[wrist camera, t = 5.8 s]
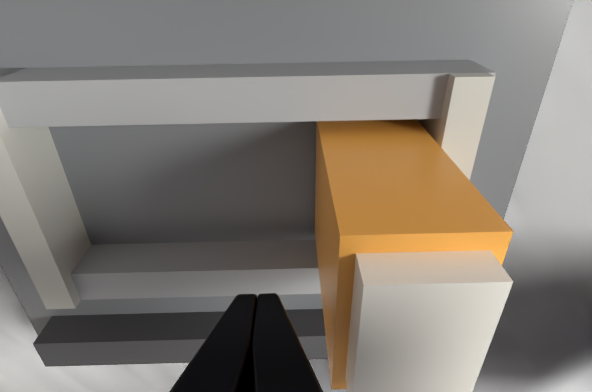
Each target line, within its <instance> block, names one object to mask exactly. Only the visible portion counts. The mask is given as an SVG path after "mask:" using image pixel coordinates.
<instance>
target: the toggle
mask: <svg viewBox="0 0 592 392" xmlns="http://www.w3.org/2000/svg"><path fill="white" fill-rule="evenodd" d="M513 232H514V231H513V230H512V229H511V228H510V227H509V226H508V224H507V223H506V222H505V221H504V220H503V219H502V218H501V216H500V215H499V214H498V213H497V212H496V211H495V209H494V208H493V207H492V206H491V205H490V204H489V202H488V201H487V200H486V199H485V198H484V197H483V196H482V194H481V193H480V192H479V191H478V190H477V189H476V187H475V186H474V185H473V184H472V183H471V182H470V180H469V179H468V178H467V177H466V176H465V175H464V174H463V172H462V171H461V170H460V169H459V168H458V167H457V165H456V164H455V163H454V162H453V161H452V160H451V158H450V157H449V156H448V155H447V154H446V153H445V152H444V150H443V149H442V148H441V147H440V146H439V145H438V143H437V142H436V141H435V140H434V139H433V138H432V136H431V135H430V134H429V133H428V132H427V131H426V130H425V128H424V127H423V126H422V125H421V124H420V123H419V121H418V120H417V119H403V120H354V121H316V181H315V241H316V250H317V260H318V269H319V278H320V288H321V297H322V306H323V316H324V325H325V334H326V344H327V353H328V362H329V372H330V381H331V389H347V392H472V391H473V389H474V386H475V383H476V381H477V378H478V375H479V373H480V370H481V367H482V365H483V362H484V359H485V357H486V354H487V351H488V349H489V346H490V343H491V341H492V338H493V335H494V333H495V330H496V327H497V325H498V322H499V319H500V316H501V314H502V311H503V308H504V306H505V303H506V300H507V298H508V295H509V292H510V290H511V287H512V284H513V280H512V279H511V278H510V276H509V275H508V274H507V272H506V271H505V269H504V268H503V267H502V264H503V261H504V258H505V255H506V252H507V249H508V246H509V243H510V240H511V237H512V234H513Z"/></svg>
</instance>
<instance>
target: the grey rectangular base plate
mask: <svg viewBox="0 0 592 392" xmlns="http://www.w3.org/2000/svg"><path fill="white" fill-rule="evenodd" d="M285 311H286V313H287V315H288V317H289V319H290V322H291V324H292V326H293V328H294V330H295V332H296V335H297V337H298V339H299V341H300V343H301V345H302V347H303V350H304V352H305V354H306V356H307V358H308V359H328V353H327V344H326V334H325V325H324V316H323V309H294V310H285ZM224 313H225V311H217V312H179V313H141V314H103V315H65V316H52V317H51V318H50V319H49V321H48V322H47V324H46V325H45V327H44V328H43V330H42V331H41V333H40V334H39V336H38V337H37V339H36V340H35V342H34V343H33V345H34V347H35V348H36V350H37V352H38V354H39V356H40V357H41V359H42V361H43V363H44V365H45V366H81V365H117V364H153V363H189V362H191V360H192V359H193V357H194V356H195V354H196V353H197V351H198V350H199V349H200V347H201V346H202V344H203V343H204V341H205V340H206V338H207V337H208V336H209V334H210V333H211V331H212V330H213V328H214V327H215V326H216V324H217V323H218V321H219V320H220V318H221V317H222V315H223V314H224Z"/></svg>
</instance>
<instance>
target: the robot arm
mask: <svg viewBox="0 0 592 392" xmlns="http://www.w3.org/2000/svg"><path fill="white" fill-rule="evenodd" d="M170 392H323V391H322V388H321V386H320V384H319V382H318V380H317V378H316V375H315V373H314V371H313V369H312V367H311V365H310V363H309V360H308V358H307V356H306V354H305V352H304V350H303V347H302V345H301V343H300V341H299V339H298V337H297V335H296V332H295V330H294V328H293V326H292V324H291V322H290V319H289V317H288V315H287V313H286V311H285V309H284V306H283V304H282V302H281V300H280V298H279V296H278V295H277V294H276V293H262V294H259V295H258V296H257V295H256V294H239V295H237V296H236V297H235V298H234V300H233V301H232V302H231V304H230V305H229V307H228V308H227V310H226V311H225V313H224V314H223V315H222V317H221V318H220V320H219V321H218V323H217V324H216V326H215V327H214V328H213V330H212V331H211V333H210V334H209V336H208V337H207V338H206V340H205V341H204V343H203V344H202V346H201V347H200V349H199V350H198V351H197V353H196V354H195V356H194V357H193V359H192V360H191V362H190V363H189V364H188V366H187V367H186V369H185V370H184V372H183V373H182V375H181V376H180V377H179V379H178V380H177V382H176V383H175V385H174V386H173V387H172V389H171V390H170Z"/></svg>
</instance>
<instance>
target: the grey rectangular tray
mask: <svg viewBox="0 0 592 392" xmlns="http://www.w3.org/2000/svg"><path fill="white" fill-rule="evenodd" d="M573 1H574V0H0V265H1V267H2V269H3V271H4V272H5V274H6V276H7V278H8V280H9V282H10V284H11V286H12V287H13V289H14V291H15V293H16V295H17V297H18V299H19V301H20V302H21V304H22V306H23V308H24V310H25V312H26V314H27V315H28V317H29V319H30V321H31V323H32V325H33V327H34V329H35V330H36V332H37V334H38V336H39V334H40V333H41V331H42V330H43V328H44V327H45V325H46V324H47V322H48V321H49V319H50V318H51V317H52V316H65V315H103V314H141V313H179V312H217V311H226V310H227V308H228V307H229V305H230V304H231V302H232V301H233V300H234V298H235V297H236V296H237V295H239V294H256V295H257V296H258V295H259V294H262V293H276V294H277V295H278V296H279V298H280V300H281V302H282V304H283V306H284V309H285V310H294V309H323V306H322V297H321V288H320V278H319V269H318V260H317V250H316V241H315V181H316V121H354V120H403V119H417V120H418V121H419V123H420V124H421V125H422V126H423V127H424V128H425V130H426V131H427V132H428V133H429V134H430V135H431V136H432V138H433V139H434V140H435V141H436V142H437V143H438V145H439V146H440V147H441V148H442V149H443V150H444V152H445V153H446V154H447V155H448V156H449V157H450V158H451V160H452V161H453V162H454V163H455V164H456V165H457V167H458V168H459V169H460V170H461V171H462V172H463V174H464V175H465V176H466V177H467V178H468V179H469V180H470V182H471V183H472V184H473V185H474V186H475V187H476V189H477V190H478V191H479V192H480V193H481V194H482V196H483V197H484V198H485V199H486V200H487V201H488V202H489V204H490V205H491V206H492V207H493V208H494V209H495V211H496V212H497V213H498V214H499V215H500V216H501V218H502V219H504V216H505V213H506V210H507V207H508V204H509V201H510V198H511V194H512V191H513V188H514V185H515V182H516V179H517V176H518V173H519V170H520V166H521V163H522V160H523V157H524V154H525V151H526V148H527V145H528V141H529V138H530V135H531V132H532V129H533V126H534V123H535V120H536V116H537V113H538V110H539V107H540V104H541V101H542V98H543V95H544V91H545V88H546V85H547V82H548V79H549V76H550V73H551V70H552V67H553V63H554V60H555V57H556V54H557V51H558V48H559V45H560V42H561V38H562V35H563V32H564V29H565V26H566V23H567V20H568V17H569V13H570V10H571V7H572V4H573Z"/></svg>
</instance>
